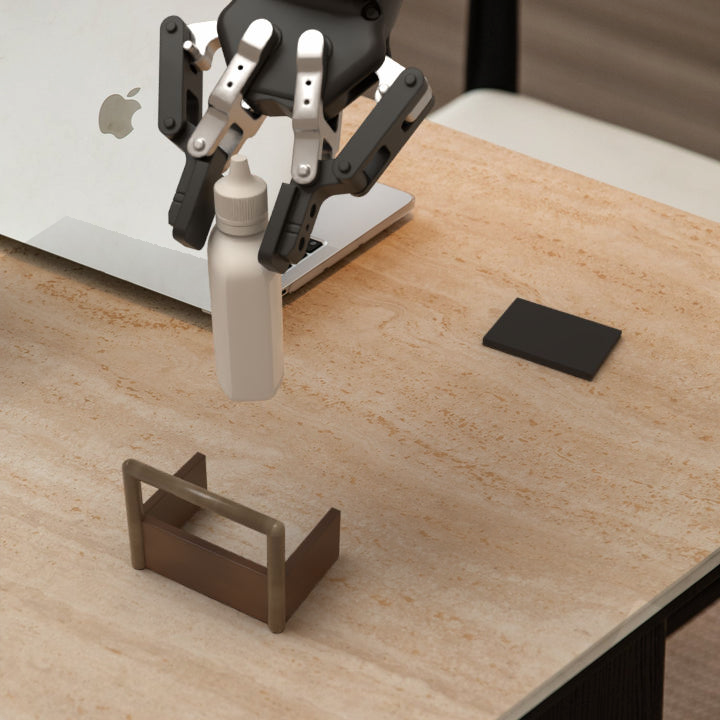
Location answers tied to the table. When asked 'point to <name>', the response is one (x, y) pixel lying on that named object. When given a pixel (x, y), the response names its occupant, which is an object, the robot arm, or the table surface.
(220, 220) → the eye dropper bottle
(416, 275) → the table surface
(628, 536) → the table surface
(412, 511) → the table surface
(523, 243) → the table surface
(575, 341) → the mat
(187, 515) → the caddy
